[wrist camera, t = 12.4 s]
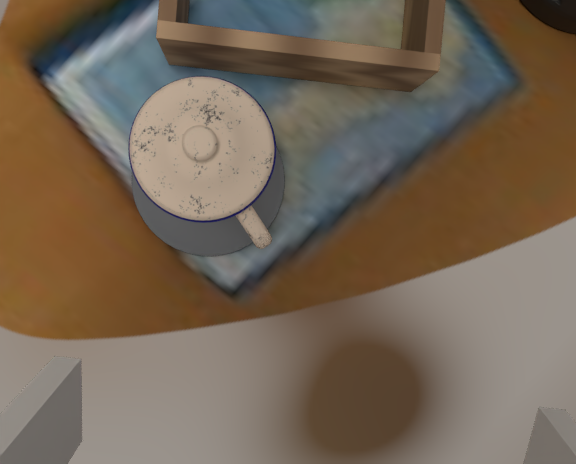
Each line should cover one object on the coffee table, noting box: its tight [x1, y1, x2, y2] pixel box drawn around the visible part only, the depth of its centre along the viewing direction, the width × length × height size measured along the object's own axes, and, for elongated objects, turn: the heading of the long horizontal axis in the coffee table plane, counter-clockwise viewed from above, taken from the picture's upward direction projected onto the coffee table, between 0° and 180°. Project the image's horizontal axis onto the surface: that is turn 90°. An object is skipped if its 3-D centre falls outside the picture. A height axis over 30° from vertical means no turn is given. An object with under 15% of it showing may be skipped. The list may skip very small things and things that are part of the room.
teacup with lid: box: [129, 76, 276, 249], centre depth 34 cm, size 12×9×12 cm
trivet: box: [132, 147, 285, 256], centre depth 40 cm, size 12×12×1 cm
